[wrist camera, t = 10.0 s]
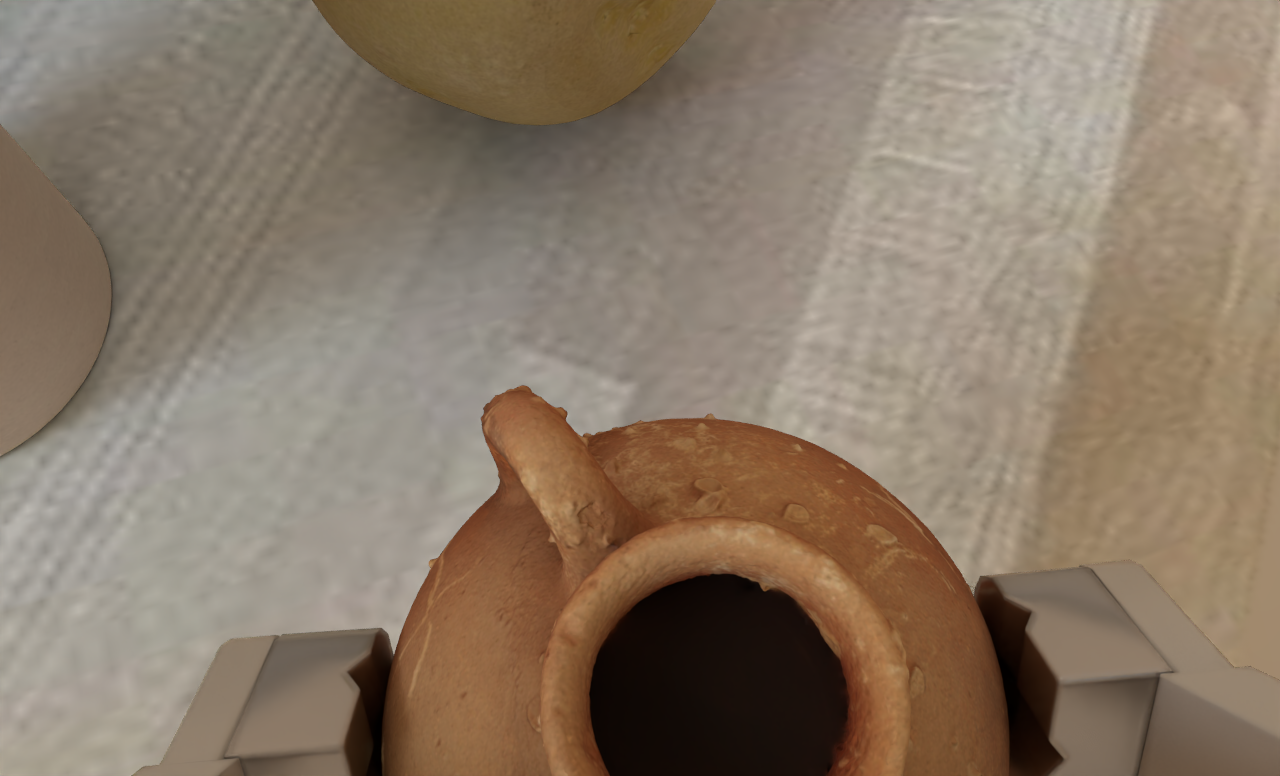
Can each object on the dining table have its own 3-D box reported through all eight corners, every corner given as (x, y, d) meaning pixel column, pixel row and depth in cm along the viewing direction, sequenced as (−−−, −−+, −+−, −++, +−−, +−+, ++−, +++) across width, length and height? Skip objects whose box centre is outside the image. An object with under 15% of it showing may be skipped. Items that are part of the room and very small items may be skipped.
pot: (539, 479, 15) (391, 924, 13) (481, 155, 8) (107, 1032, 5) (905, 577, 15) (833, 1062, 12) (1191, 324, 8) (1168, 1380, 5)
